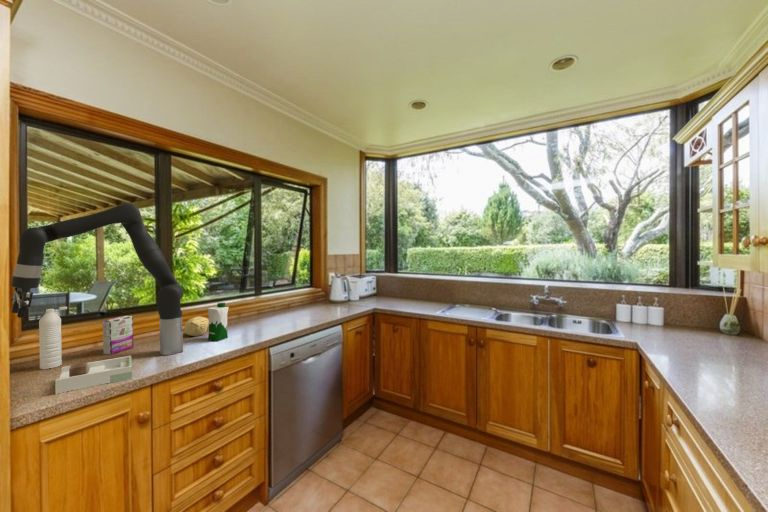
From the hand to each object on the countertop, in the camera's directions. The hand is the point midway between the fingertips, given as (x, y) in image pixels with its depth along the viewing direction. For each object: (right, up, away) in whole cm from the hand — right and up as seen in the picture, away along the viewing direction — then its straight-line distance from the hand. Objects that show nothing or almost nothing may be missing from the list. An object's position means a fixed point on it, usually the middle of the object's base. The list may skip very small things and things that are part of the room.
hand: (18, 315), depth 126 cm
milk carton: (+54, -23, +50) cm, 77 cm away
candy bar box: (+17, -23, +28) cm, 40 cm away
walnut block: (+34, -22, -9) cm, 41 cm away
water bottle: (+6, -24, +8) cm, 26 cm away
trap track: (+36, -25, -4) cm, 43 cm away
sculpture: (+38, -23, +57) cm, 72 cm away
